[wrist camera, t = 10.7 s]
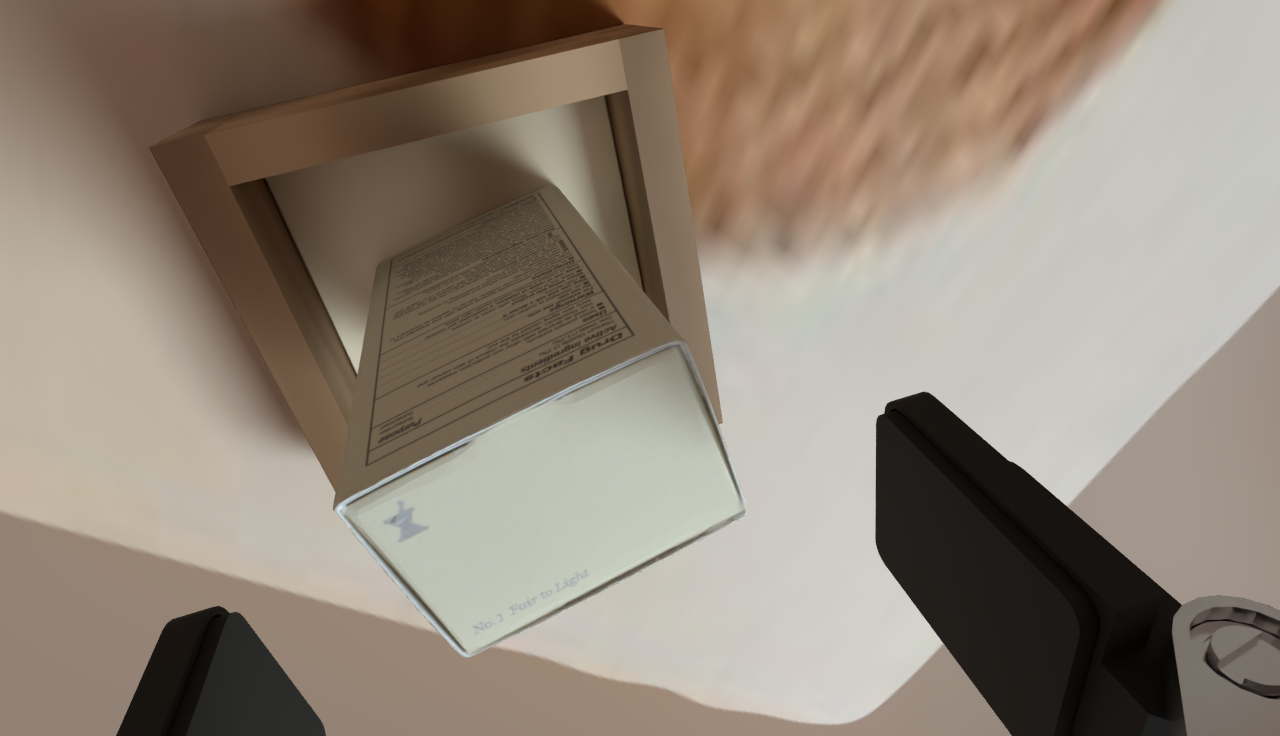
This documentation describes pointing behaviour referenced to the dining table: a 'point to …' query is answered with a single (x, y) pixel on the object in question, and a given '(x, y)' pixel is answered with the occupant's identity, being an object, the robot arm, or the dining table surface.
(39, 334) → the dining table surface
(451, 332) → the skincare box
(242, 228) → the brown wooden square tray
